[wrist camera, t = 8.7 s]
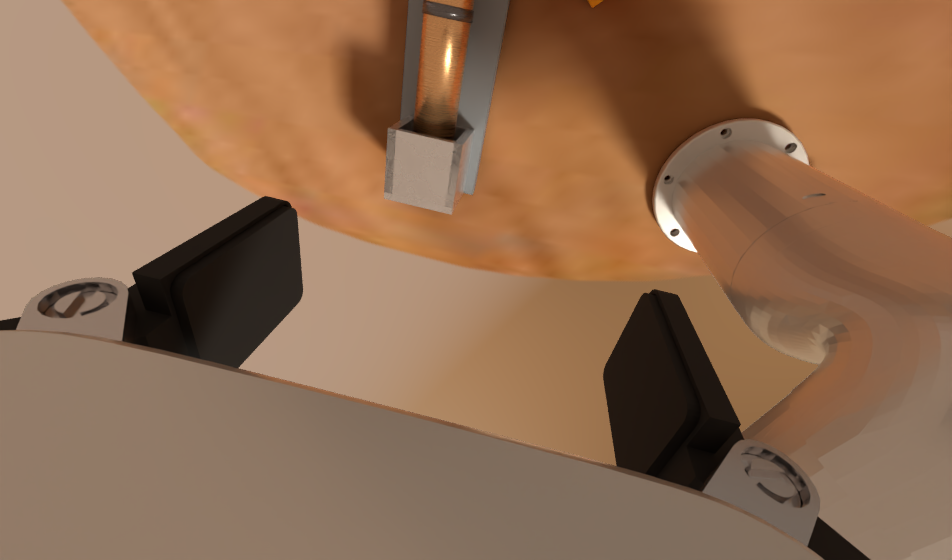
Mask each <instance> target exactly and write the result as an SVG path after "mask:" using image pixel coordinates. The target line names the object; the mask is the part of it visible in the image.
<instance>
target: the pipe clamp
mask: <svg viewBox="0 0 952 560" xmlns="http://www.w3.org/2000/svg"><path fill="white" fill-rule="evenodd" d="M602 1H603V0H588V2H589V4H590V5H591V7H592V8H593V7H595V6H596V5H598V4H599V3H600V2H602Z"/></svg>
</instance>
